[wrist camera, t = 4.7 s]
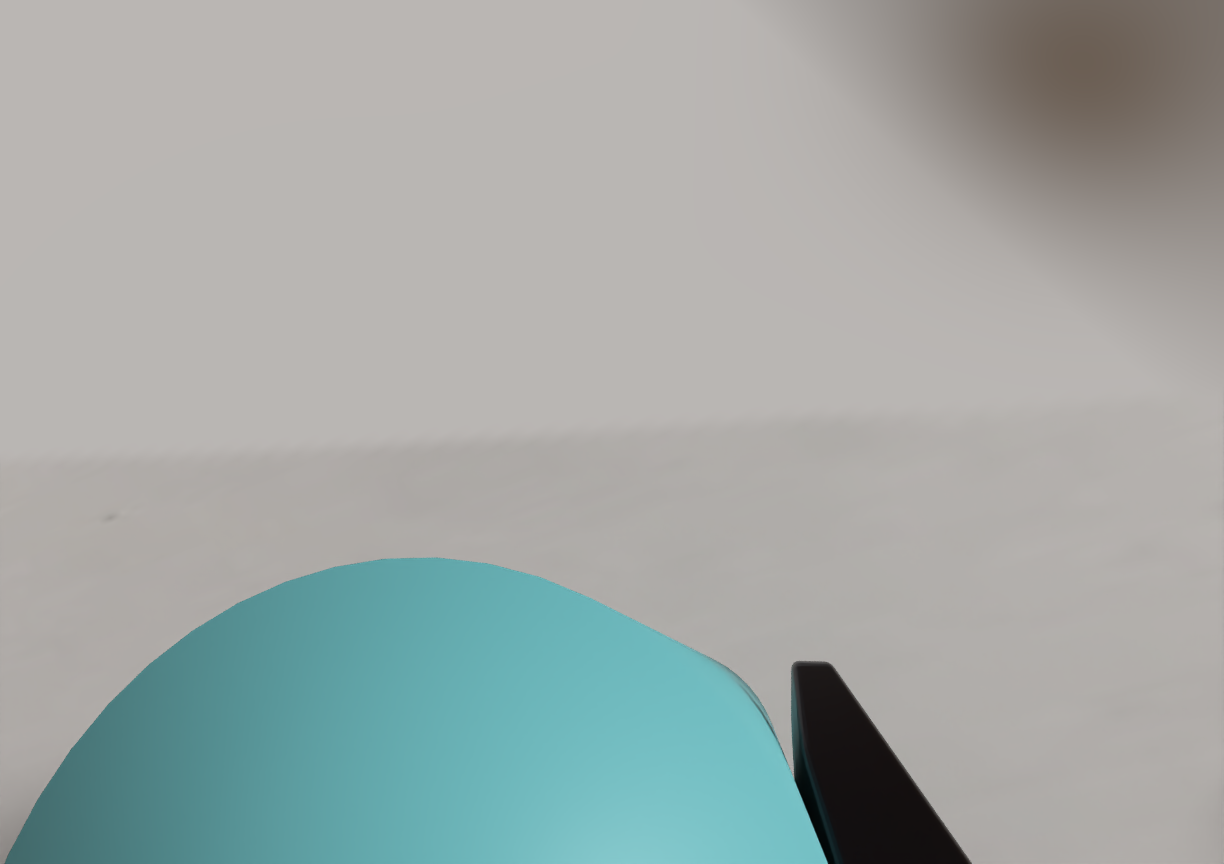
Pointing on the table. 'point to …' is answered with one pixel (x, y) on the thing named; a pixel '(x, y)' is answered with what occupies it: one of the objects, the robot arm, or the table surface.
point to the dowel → (425, 737)
